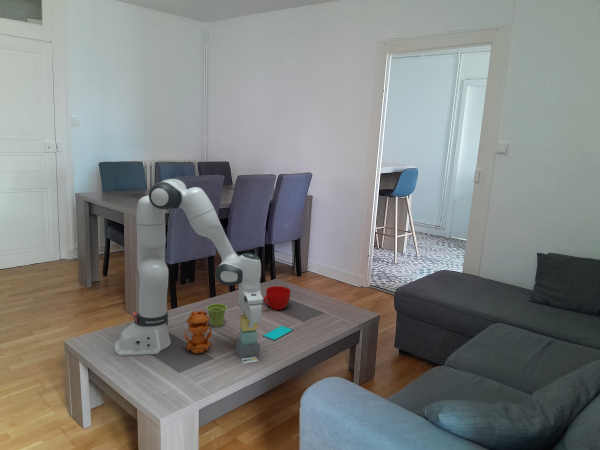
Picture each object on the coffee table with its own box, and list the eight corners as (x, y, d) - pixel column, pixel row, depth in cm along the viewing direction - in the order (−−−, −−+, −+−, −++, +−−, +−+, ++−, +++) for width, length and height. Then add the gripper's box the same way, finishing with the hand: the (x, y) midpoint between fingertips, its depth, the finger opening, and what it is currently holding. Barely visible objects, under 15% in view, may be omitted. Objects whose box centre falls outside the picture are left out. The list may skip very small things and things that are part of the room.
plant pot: (208, 329, 205) (209, 311, 204) (204, 321, 214) (204, 304, 212) (228, 326, 209) (228, 309, 208) (223, 319, 218) (223, 302, 216)
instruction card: (243, 363, 176) (243, 363, 176) (241, 358, 180) (241, 358, 179) (258, 361, 178) (258, 360, 178) (255, 356, 182) (255, 356, 182)
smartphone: (293, 329, 209) (274, 340, 197) (293, 331, 210) (274, 341, 197) (281, 325, 213) (261, 335, 201) (281, 326, 213) (261, 337, 201)
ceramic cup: (255, 309, 233) (255, 291, 231) (277, 301, 245) (277, 284, 244) (272, 316, 224) (273, 297, 223) (294, 308, 237) (295, 290, 235)
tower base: (240, 358, 180) (241, 347, 179) (235, 349, 187) (236, 338, 186) (259, 355, 183) (259, 344, 182) (253, 347, 190) (254, 336, 189)
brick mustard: (242, 331, 180) (243, 319, 179) (239, 326, 184) (240, 315, 183) (256, 329, 182) (257, 318, 181) (253, 324, 187) (253, 313, 186)
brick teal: (242, 345, 181) (242, 333, 180) (239, 339, 185) (239, 328, 184) (256, 343, 183) (257, 331, 182) (253, 338, 188) (253, 327, 187)
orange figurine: (187, 358, 178) (187, 316, 174) (182, 346, 187) (182, 306, 184) (214, 354, 182) (215, 313, 179) (208, 342, 192) (209, 303, 189)
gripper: (235, 285, 188) (234, 315, 191) (249, 302, 170) (247, 335, 173) (249, 284, 191) (248, 314, 193) (264, 300, 172) (263, 333, 175)
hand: (248, 324), depth 183 cm, fingers closed on brick mustard, 5 cm apart
